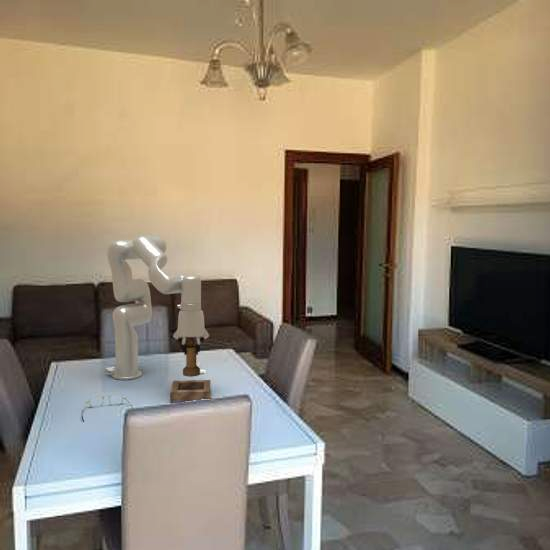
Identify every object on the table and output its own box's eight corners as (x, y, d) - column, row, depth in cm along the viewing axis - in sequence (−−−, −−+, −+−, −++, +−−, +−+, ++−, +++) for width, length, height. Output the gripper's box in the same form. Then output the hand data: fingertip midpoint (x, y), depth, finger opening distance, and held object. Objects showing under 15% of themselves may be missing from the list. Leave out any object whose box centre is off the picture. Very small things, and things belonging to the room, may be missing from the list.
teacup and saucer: (204, 375, 233) (204, 366, 232) (186, 375, 233) (186, 366, 232) (207, 370, 241) (207, 361, 241) (190, 370, 242) (190, 361, 241)
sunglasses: (130, 404, 194) (129, 391, 194) (133, 418, 180) (133, 404, 180) (81, 408, 188) (81, 395, 188) (81, 423, 174) (81, 409, 174)
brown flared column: (185, 377, 198) (185, 331, 196) (180, 373, 204) (180, 328, 202) (202, 375, 201) (201, 329, 199) (196, 371, 207) (196, 326, 205)
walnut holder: (170, 402, 195) (170, 392, 195) (173, 390, 210) (173, 380, 209) (210, 401, 197) (210, 391, 196) (210, 389, 212) (210, 379, 211)
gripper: (168, 309, 195) (168, 356, 197) (212, 308, 197) (212, 356, 199) (169, 306, 203) (170, 352, 204) (212, 305, 205) (212, 351, 206)
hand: (191, 353), depth 202 cm, fingers closed on brown flared column, 3 cm apart
